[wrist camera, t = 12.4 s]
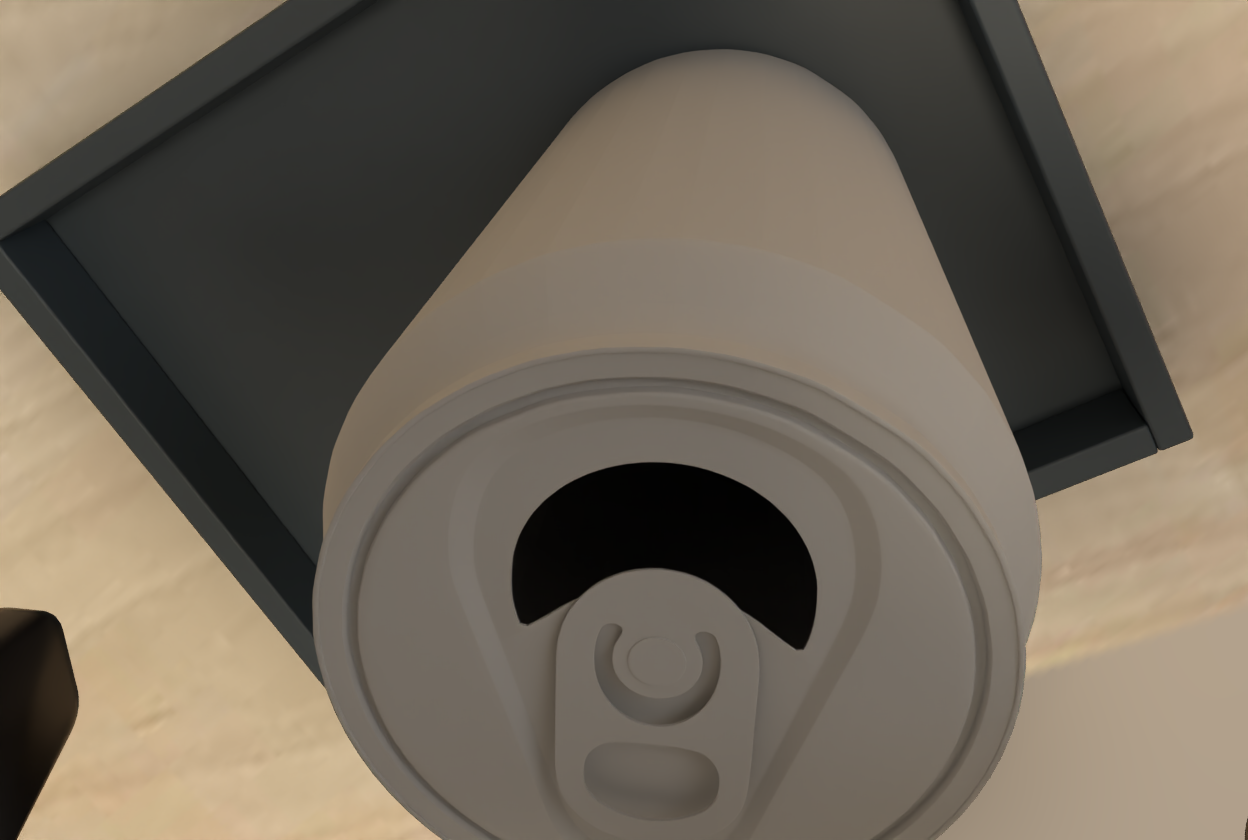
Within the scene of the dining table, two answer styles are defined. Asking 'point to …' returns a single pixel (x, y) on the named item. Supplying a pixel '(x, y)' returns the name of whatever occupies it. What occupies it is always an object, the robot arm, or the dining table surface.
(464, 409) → the beverage can
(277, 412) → the rectangular tray
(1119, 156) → the dining table surface
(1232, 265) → the dining table surface
